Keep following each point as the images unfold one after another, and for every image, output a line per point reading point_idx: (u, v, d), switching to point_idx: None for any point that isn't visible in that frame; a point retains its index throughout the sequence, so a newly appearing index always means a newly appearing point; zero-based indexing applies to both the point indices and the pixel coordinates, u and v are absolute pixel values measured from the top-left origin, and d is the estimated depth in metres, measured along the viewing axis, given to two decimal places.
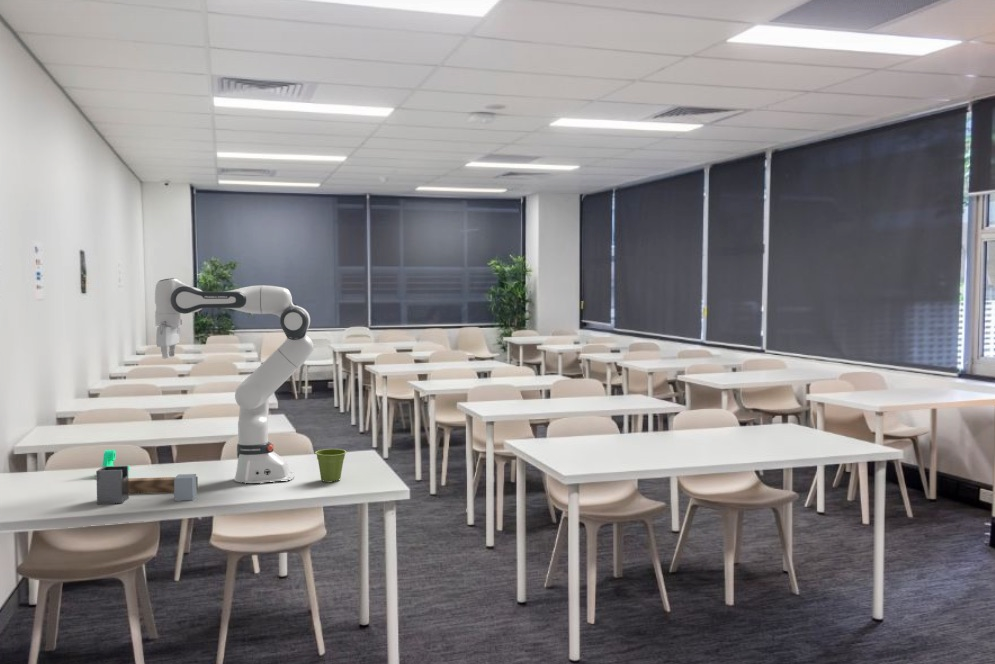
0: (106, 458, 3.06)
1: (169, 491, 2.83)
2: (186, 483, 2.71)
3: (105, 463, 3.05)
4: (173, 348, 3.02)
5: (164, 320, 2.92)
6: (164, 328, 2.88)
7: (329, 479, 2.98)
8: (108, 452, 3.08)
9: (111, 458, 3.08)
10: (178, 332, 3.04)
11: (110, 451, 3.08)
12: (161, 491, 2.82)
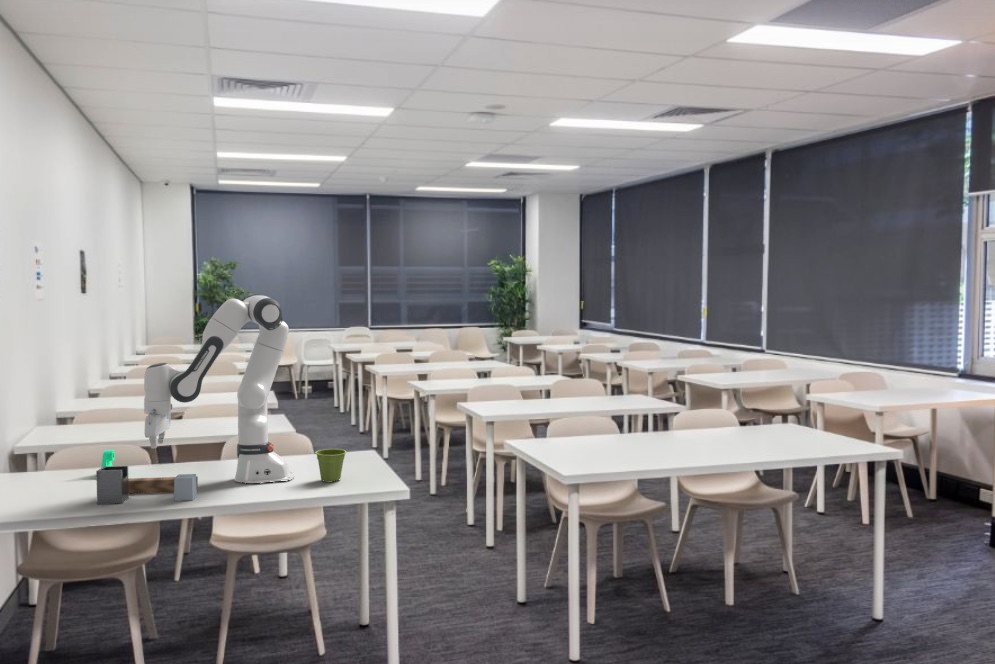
0: (105, 458, 3.06)
1: (169, 491, 2.83)
2: (186, 483, 2.71)
3: (104, 463, 3.05)
4: (162, 434, 2.89)
5: (153, 408, 2.78)
6: (153, 418, 2.74)
7: (329, 479, 2.98)
8: (107, 452, 3.08)
9: (110, 458, 3.08)
10: (168, 417, 2.91)
11: (109, 451, 3.08)
12: (161, 491, 2.82)
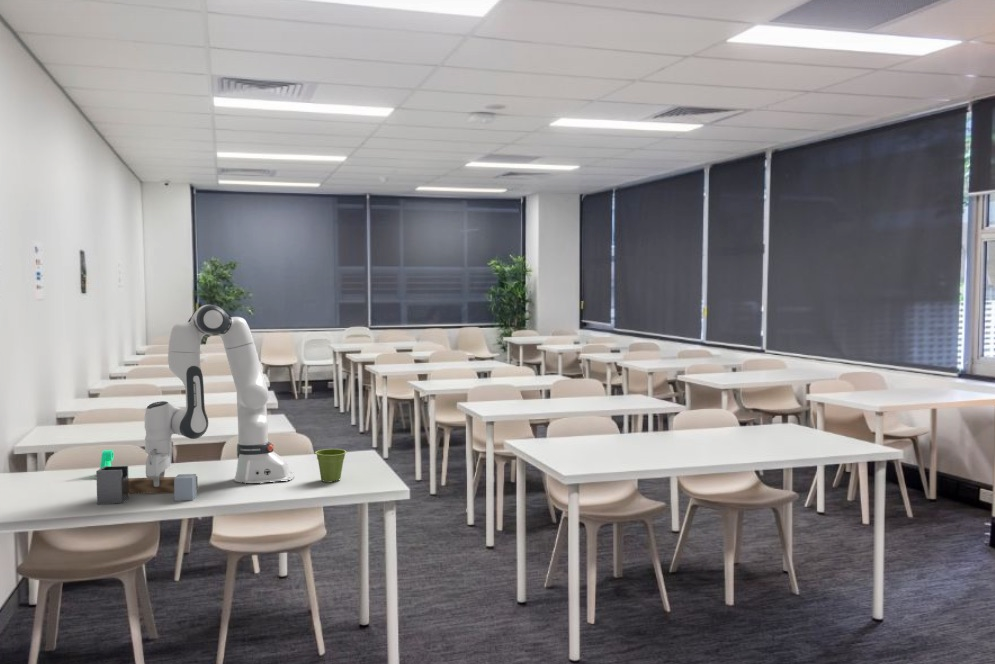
0: (104, 458, 3.06)
1: (169, 491, 2.83)
2: (186, 483, 2.71)
3: (103, 463, 3.05)
4: (162, 473, 2.87)
5: (154, 447, 2.79)
6: (154, 458, 2.75)
7: (329, 479, 2.98)
8: (106, 452, 3.08)
9: (109, 458, 3.07)
10: (169, 455, 2.92)
11: (108, 451, 3.08)
12: (161, 491, 2.82)
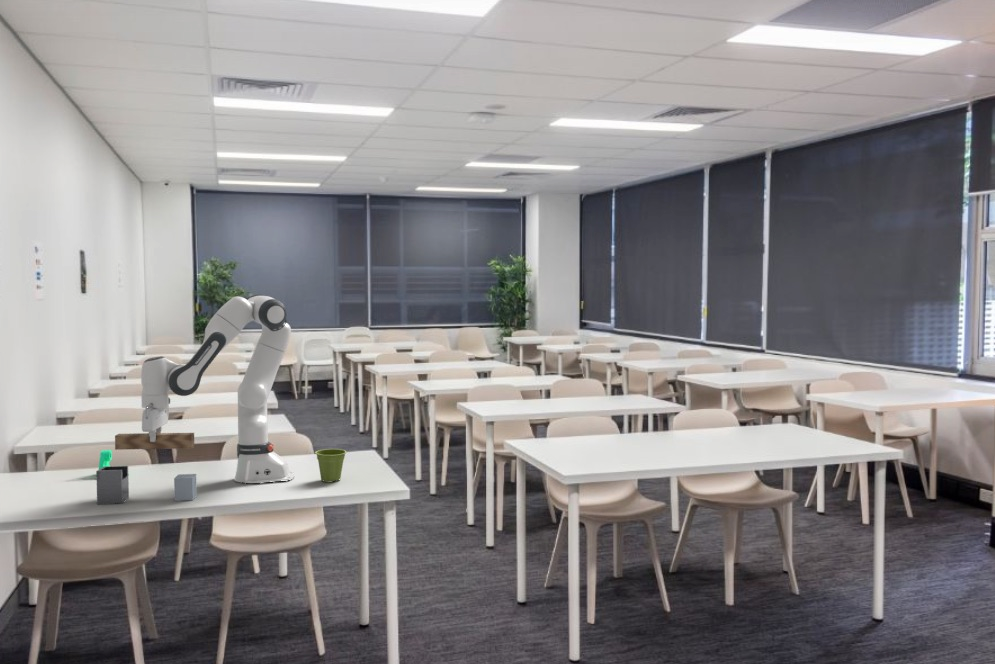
0: (102, 458, 3.06)
1: (165, 446, 2.79)
2: (186, 483, 2.71)
3: (101, 463, 3.05)
4: (159, 430, 2.84)
5: (151, 402, 2.76)
6: (150, 412, 2.71)
7: (329, 479, 2.98)
8: (104, 452, 3.07)
9: (107, 458, 3.07)
10: (166, 411, 2.88)
11: (106, 451, 3.08)
12: (157, 446, 2.79)
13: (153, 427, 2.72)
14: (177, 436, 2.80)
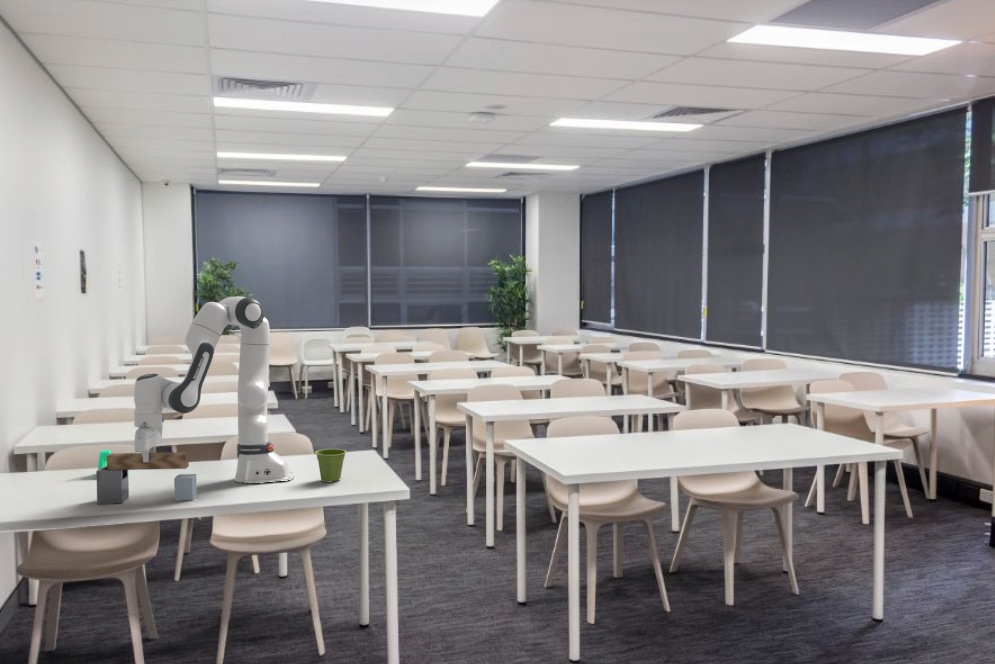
0: (102, 458, 3.06)
1: (159, 467, 2.70)
2: (186, 483, 2.71)
3: (100, 463, 3.05)
4: (152, 449, 2.75)
5: (144, 421, 2.67)
6: (143, 432, 2.62)
7: (329, 479, 2.98)
8: (104, 452, 3.07)
9: None
10: (160, 430, 2.79)
11: (106, 451, 3.08)
12: (150, 467, 2.70)
13: (146, 447, 2.63)
14: (171, 456, 2.71)
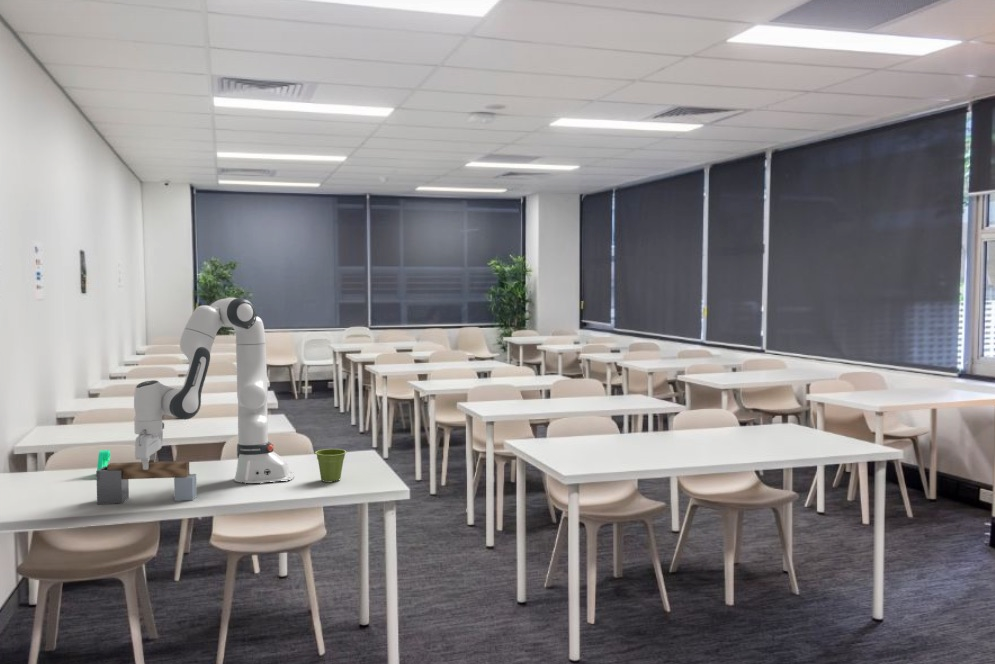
0: (101, 458, 3.06)
1: (159, 476, 2.71)
2: (186, 483, 2.71)
3: (100, 463, 3.05)
4: (153, 455, 2.76)
5: (144, 428, 2.67)
6: (143, 439, 2.63)
7: (329, 479, 2.98)
8: (103, 452, 3.07)
9: (106, 458, 3.07)
10: (160, 436, 2.79)
11: (105, 451, 3.08)
12: (151, 476, 2.70)
13: (147, 454, 2.63)
14: (172, 465, 2.71)
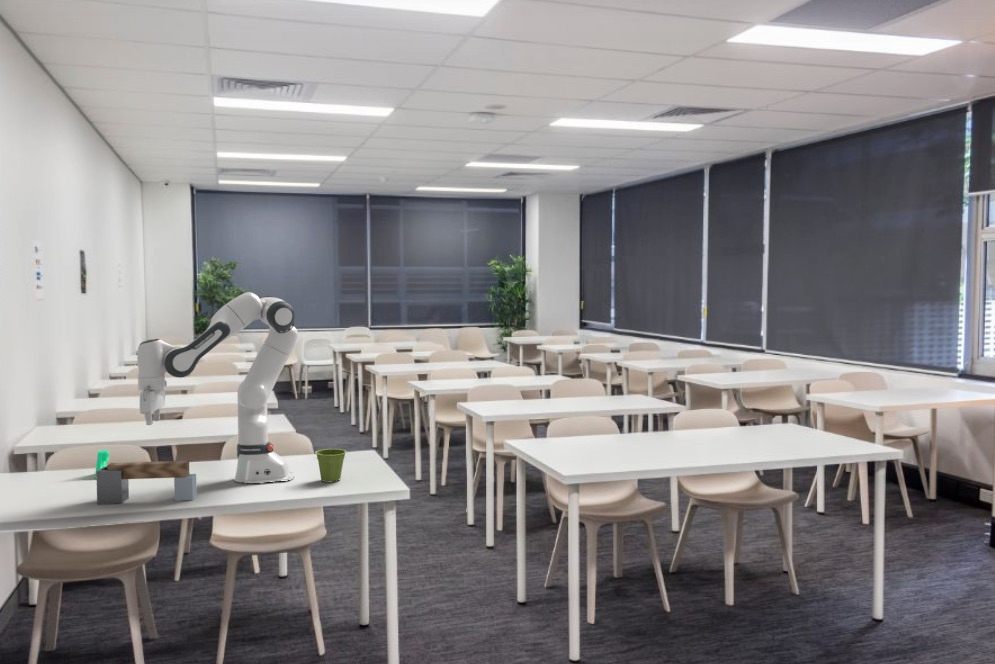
0: (100, 458, 3.06)
1: (159, 476, 2.71)
2: (186, 483, 2.71)
3: (98, 463, 3.05)
4: (158, 411, 2.86)
5: (147, 384, 2.75)
6: (148, 394, 2.71)
7: (329, 479, 2.98)
8: (102, 452, 3.07)
9: (105, 458, 3.07)
10: (163, 394, 2.88)
11: (104, 451, 3.08)
12: (151, 476, 2.70)
13: (151, 409, 2.72)
14: (172, 465, 2.71)
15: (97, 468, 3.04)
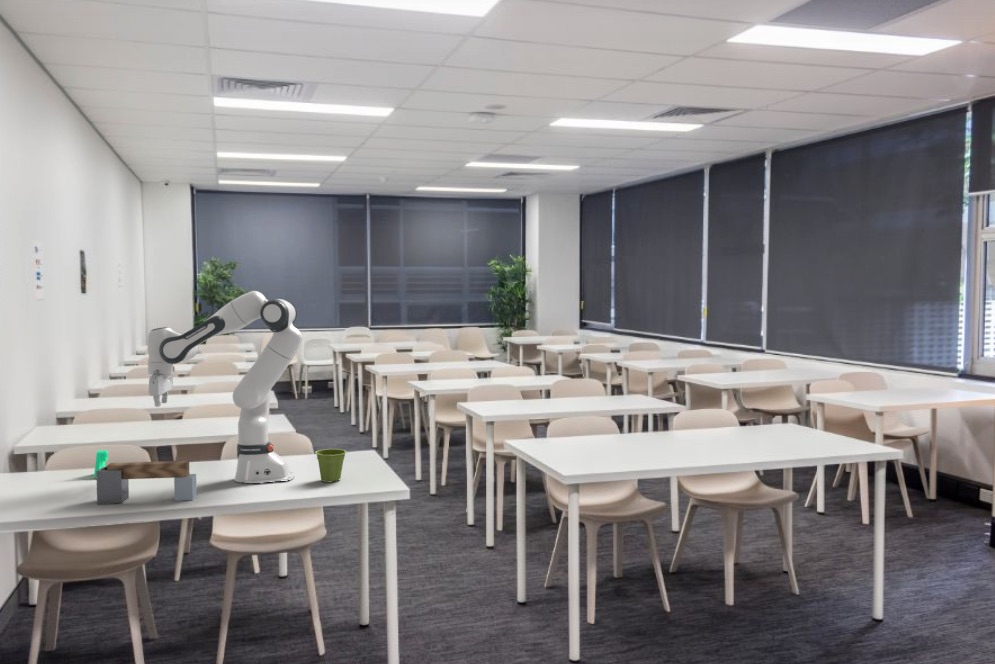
0: (99, 458, 3.06)
1: (159, 476, 2.71)
2: (186, 483, 2.71)
3: (97, 463, 3.05)
4: (166, 395, 3.07)
5: (156, 369, 2.97)
6: (156, 377, 2.93)
7: (329, 479, 2.98)
8: (101, 452, 3.07)
9: (104, 458, 3.07)
10: (171, 379, 3.10)
11: (103, 451, 3.08)
12: (151, 476, 2.70)
13: (159, 391, 2.93)
14: (172, 465, 2.71)
15: (96, 468, 3.04)
